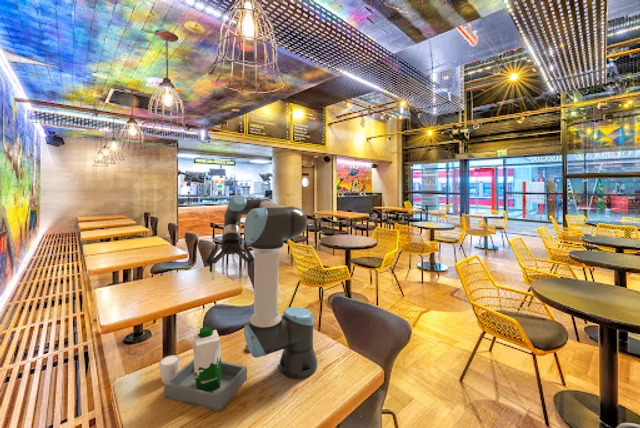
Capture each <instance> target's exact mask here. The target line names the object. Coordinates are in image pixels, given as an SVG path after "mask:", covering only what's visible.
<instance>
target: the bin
mask: <svg viewBox="0 0 640 428" xmlns="http://www.w3.org/2000/svg"><path fill="white" fill-rule="evenodd" d="M247 379H248V367H247V365H243V364H237V363H232V362H227V361H222V360H221V380H220V388H217V389H214V390H211V391H208V392H206V391H202V390H198V389H197V384H196V380H195V374H194V358H193V359H192V360H191V361H189V362H188V363H187V364H186V365H184V367H182V368H181V369H179V372H178V373H176V374H175V375H174V376H173V377H172V378H170V379H169V380H168V381H167V382H166V383H164V382H163V386H164V398H166V399H169V400H172V401H177V402H181V403H185V404H187V405H193V406H196V407H200V408H203V409H207V410H211V411H215V412H219V413H221V412H222V411H223V410H224V408H225V407H226V406H227V405H228V403H229V402H230V401H231V399H232V398H234V396H235V395H236V393H237V392H238V391H239V390H240V389H241V387H242V386H243V384H244V383H245V382H246V381H247Z"/></svg>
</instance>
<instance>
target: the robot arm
mask: <svg viewBox="0 0 640 428" xmlns="http://www.w3.org/2000/svg"><path fill="white" fill-rule="evenodd" d="M243 216H245V218H244V219H245V220H244V224H243V234H244V240H245V241H246V242H247V243H248V244H249V247H250V248H251V250H253V252H254V254H252V253H251V251H250V249H249V248H248V245H247V243H246V242H244V243H243V244H241V242H240V241H241V228H240V227H241V220H242V217H243ZM223 218H224V219H223V233H222V244H221V245H219V244H218V243H216V244H215V245H214V247H213V248H214V249H213V250H212V251H211V252H210V254H209V255H208V257H207V258H206V260H205V264H206V266H209V272H210V273H211V280H212V281H215V274H216V273H215V272H216V264H217V263H218V262H219V261H220V260H221V259H222V258H223V257H225V256H226V255H228V256H229V255H235V254H236V255H237V256H239V257H240V259H242V260H243V261H244V262H245V279H247V278H248V276H249V275H248V273H249V272H248V271H250V270H251V264H252V263H254V265H253V266H254V267H253V269H254V272H253V273H254V274H253V276H254V278H253V279H254V280H253V281H254V282H253V313H252V314H251V315H250V317H249V324H246V325H244V328H243V336H244V338H245V339H244V340H245V343H246V344H245V345H247V347H248V349H249V351H248V352H249V353H250V355H251V357H253V358H260V357H263V356H264V357H266V356H267V355H271V354H273V353H275V352H279V351H282V353H281V356H280V358H279V371H280V372H281V374H282V375H284V376H285V377H287V378H290V379H305V378H308V377H309V376H311V375H312V374H314V373H315V372H316V371H317V369H318V368H317V367H318V357H317V355H316V352H315V349H314V316H313V313H312V312H311V311H310V310H309V309H308V308H305V307H299V306H292V307H291V306H290V307H287V308H285V309H284V310H283V312H282V314H283V315H282V314H281V313H280V312H279V275H280V274H279V272H280V271H279V269H280V267H279V266H280V263H279V262H280V251H281V250H282V249H283V247H284V242H285V241H284V240H290V239H295V238H297V237H299V236H301V235H302V234H303V233H304V232H305V231H306V229H307V226H308V216H307V214H306V212H305V211H304V210H303V209H302V208H300V207H295V206H285V205H281V204H279V203H275V201H274V200H273V199H272V198H258V199H255V198H254V199H253V198H247V199H246V197H245V196H244V195H241V194H233V195H232V196H231V197H230V198H229V200H228V203H227V208H226V209H225V210H224V215H223ZM241 249H242V250H243V251H244V252H245V253H243V252H242V251H241ZM220 250H221V251H220ZM219 251H220V252H219ZM218 252H219V253H218ZM245 254H246V255H245Z"/></svg>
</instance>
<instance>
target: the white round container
mask: <svg viewBox="0 0 640 428" xmlns="http://www.w3.org/2000/svg"><path fill="white" fill-rule="evenodd" d="M180 361H181V357H180V356H179V355H177V354H172V355H167V356H165V357H163V358H161V360H160V361H159V362H158V365H159V372H160V378H161V382H163V384H164V383H166V382H167V381H168V380H169V379H170V378H172V377H173V376H174V375H175V374H176V373H178V372H179V371H180Z"/></svg>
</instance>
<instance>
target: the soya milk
mask: <svg viewBox="0 0 640 428" xmlns="http://www.w3.org/2000/svg"><path fill="white" fill-rule="evenodd" d="M212 328H213V327H212V326H210V325H209V326H208V325H207V326H202V327H201V328H200V329H199V333H197V334H193V341H192V342H193V344H192V345H193V349H192V350H193V351H192V352H193V359H194V374H195V380H196V384H197V389H198V390H202V391H206V392H208V391H211V390H214V389H217V388H220V380H221V361H222V356H221V355H222V353H221V351H222V350H221V339H220V336H219V334H218V329H213V330H212Z"/></svg>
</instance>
